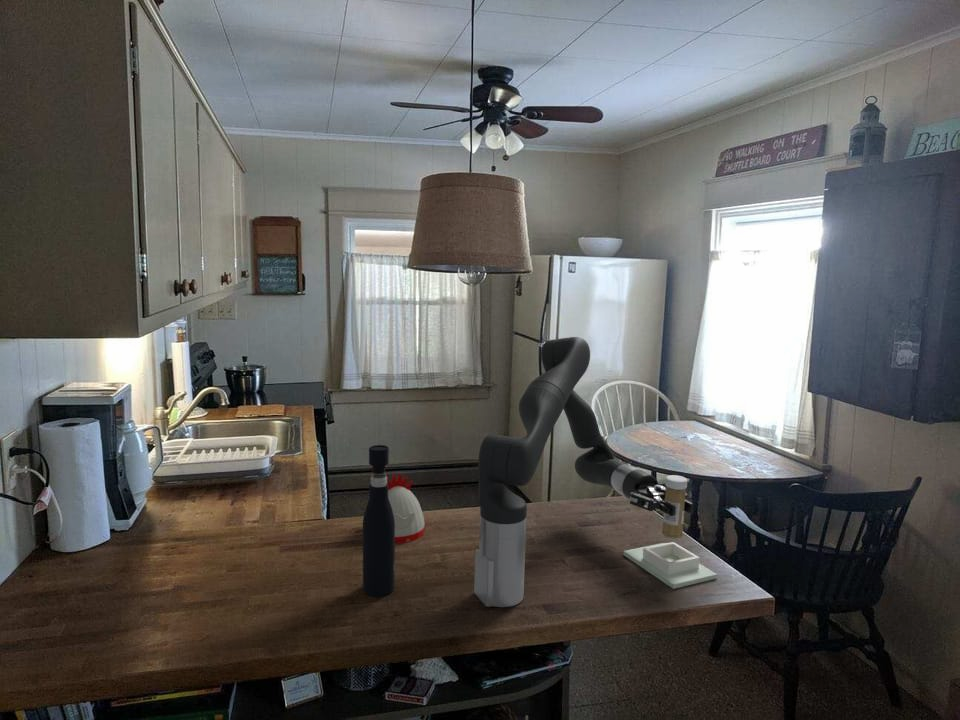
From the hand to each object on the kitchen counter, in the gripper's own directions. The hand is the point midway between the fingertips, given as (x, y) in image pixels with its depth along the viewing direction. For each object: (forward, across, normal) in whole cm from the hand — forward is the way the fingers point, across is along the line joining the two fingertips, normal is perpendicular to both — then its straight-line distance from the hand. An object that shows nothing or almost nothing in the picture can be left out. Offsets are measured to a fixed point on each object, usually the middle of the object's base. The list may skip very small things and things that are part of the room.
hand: (683, 510), depth 143 cm
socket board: (-2, 0, +14) cm, 15 cm away
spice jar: (-3, 0, +7) cm, 8 cm away
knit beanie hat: (-43, -51, +15) cm, 69 cm away
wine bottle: (-18, -63, +15) cm, 67 cm away
